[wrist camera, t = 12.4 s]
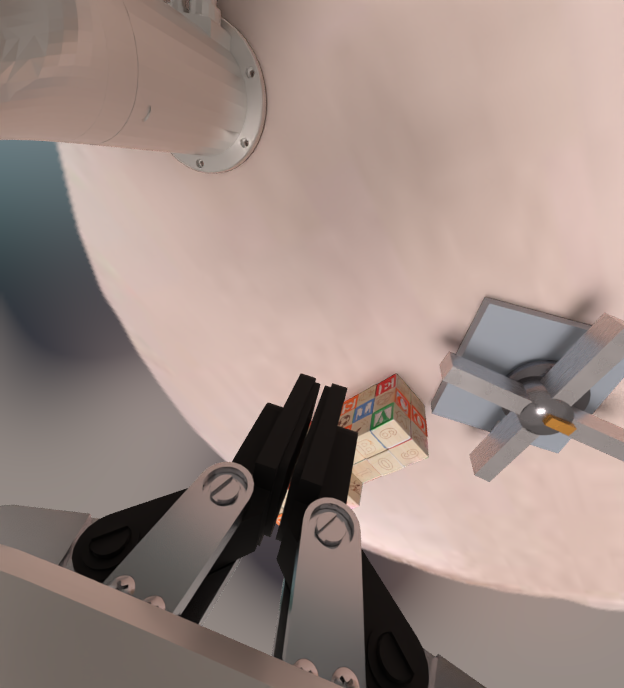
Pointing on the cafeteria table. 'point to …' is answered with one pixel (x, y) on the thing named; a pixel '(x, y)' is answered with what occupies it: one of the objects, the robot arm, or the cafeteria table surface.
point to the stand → (515, 362)
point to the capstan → (544, 398)
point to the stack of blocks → (382, 433)
